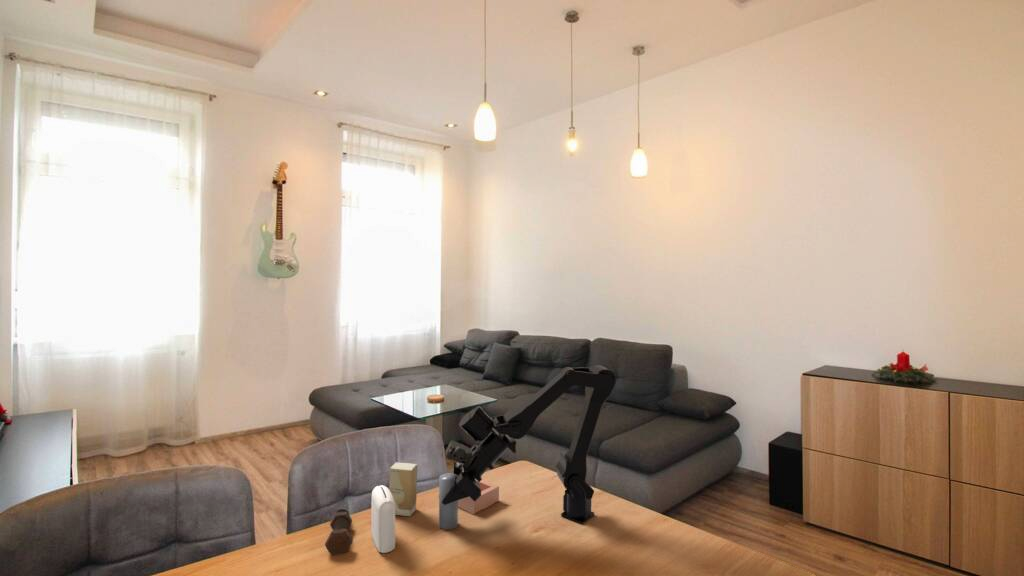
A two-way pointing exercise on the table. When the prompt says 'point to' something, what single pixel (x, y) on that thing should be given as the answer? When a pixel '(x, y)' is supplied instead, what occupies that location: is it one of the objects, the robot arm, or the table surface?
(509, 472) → the table surface
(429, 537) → the table surface
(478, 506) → the tray
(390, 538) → the photo printer
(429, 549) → the table surface
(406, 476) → the skincare box
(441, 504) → the grey dome-topped post
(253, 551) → the table surface
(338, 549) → the bolt
